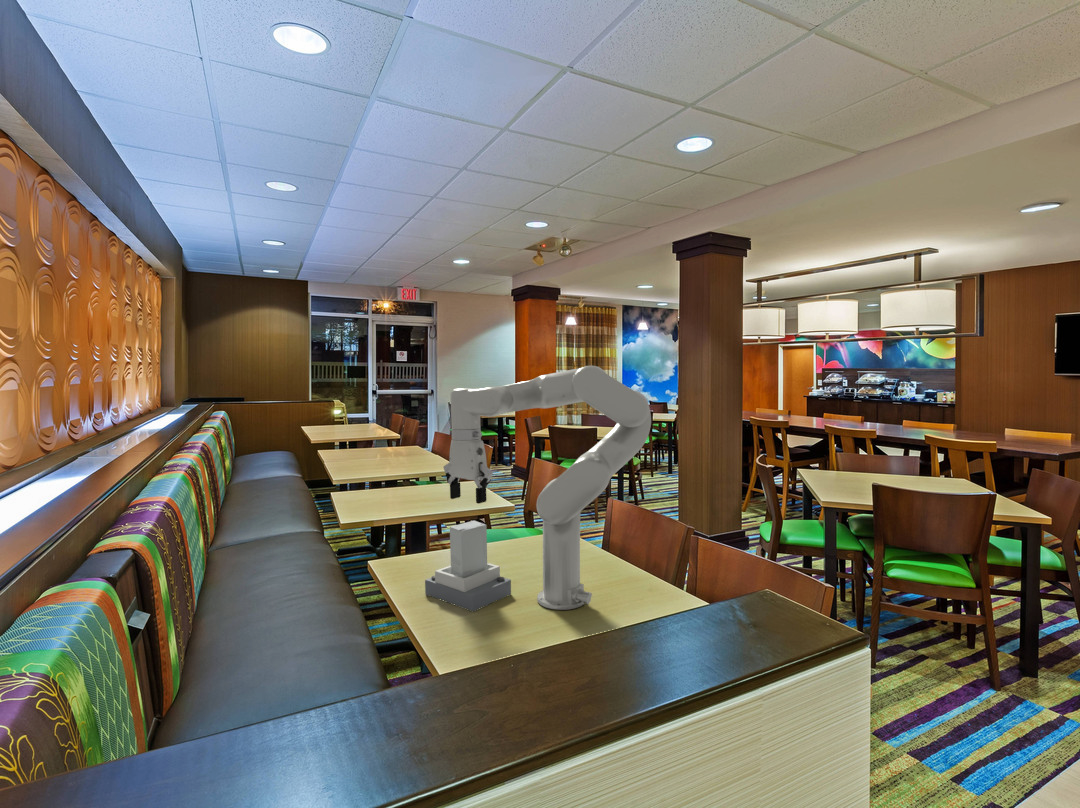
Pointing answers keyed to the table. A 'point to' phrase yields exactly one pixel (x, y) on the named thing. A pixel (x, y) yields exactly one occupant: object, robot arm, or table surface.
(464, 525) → the skincare box
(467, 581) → the grey box holder
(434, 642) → the table surface
